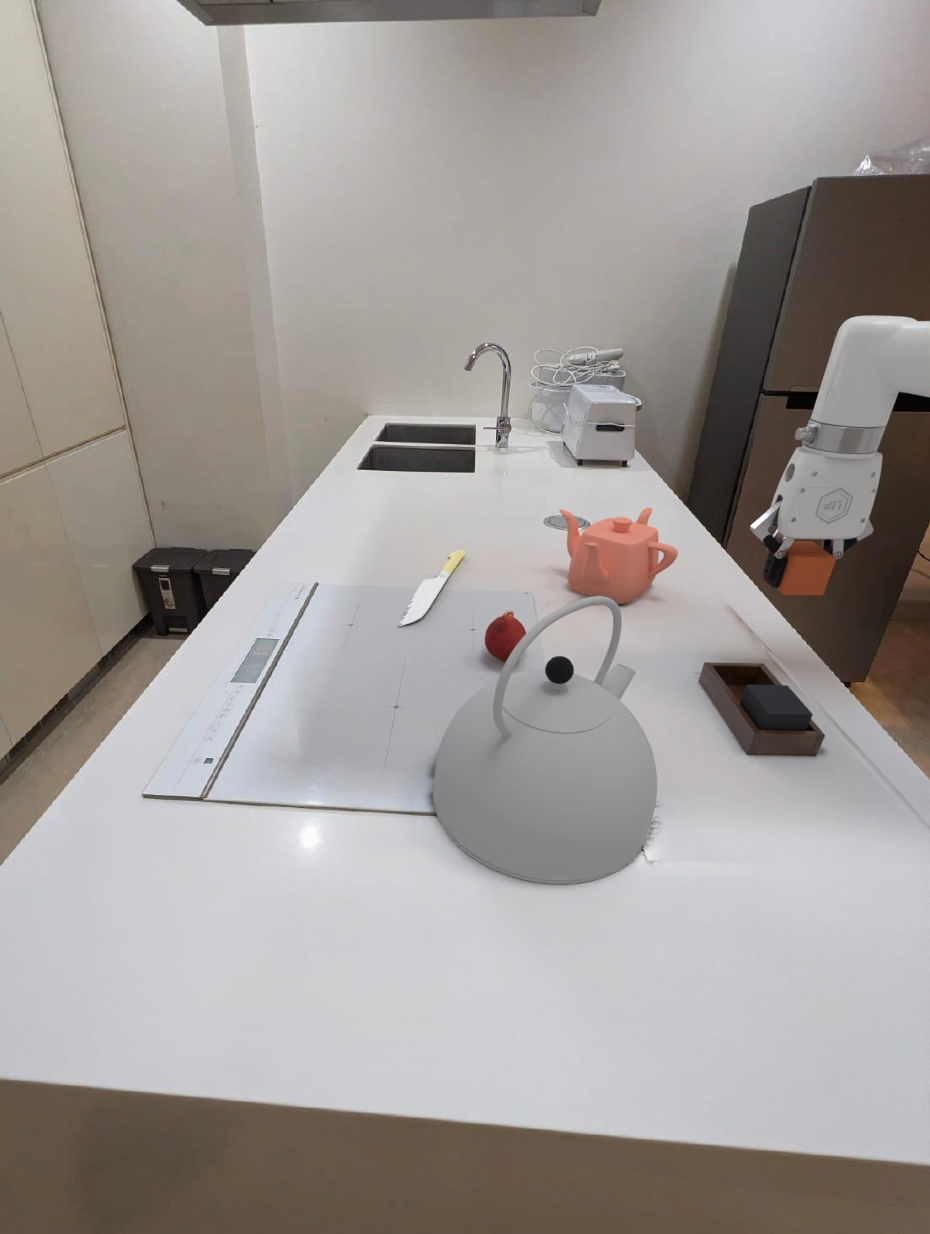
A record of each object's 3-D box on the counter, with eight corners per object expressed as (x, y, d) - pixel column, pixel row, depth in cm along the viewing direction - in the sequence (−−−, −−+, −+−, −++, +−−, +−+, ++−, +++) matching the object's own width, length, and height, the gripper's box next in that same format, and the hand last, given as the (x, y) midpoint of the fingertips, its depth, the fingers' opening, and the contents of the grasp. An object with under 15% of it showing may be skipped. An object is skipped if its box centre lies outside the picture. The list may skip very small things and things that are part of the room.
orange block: (799, 576, 85) (812, 541, 82) (823, 595, 80) (836, 558, 77) (762, 576, 85) (773, 540, 83) (783, 595, 80) (795, 557, 77)
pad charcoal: (774, 718, 79) (787, 685, 76) (798, 749, 74) (813, 714, 71) (734, 717, 79) (746, 684, 76) (755, 748, 73) (768, 713, 71)
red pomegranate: (503, 676, 87) (508, 625, 83) (474, 659, 91) (478, 609, 86) (532, 663, 90) (538, 612, 86) (503, 647, 94) (507, 598, 89)
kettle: (539, 702, 82) (563, 535, 70) (704, 795, 67) (769, 605, 55) (389, 788, 68) (386, 596, 55) (557, 929, 53) (602, 712, 41)
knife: (390, 623, 98) (418, 622, 97) (442, 549, 125) (466, 547, 123) (391, 630, 99) (420, 630, 97) (443, 555, 126) (467, 554, 124)
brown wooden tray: (755, 685, 86) (763, 663, 84) (814, 759, 73) (825, 735, 71) (697, 684, 86) (704, 661, 84) (745, 758, 73) (754, 733, 71)
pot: (549, 567, 120) (557, 502, 113) (638, 565, 121) (652, 501, 114) (575, 611, 104) (586, 538, 98) (677, 609, 105) (695, 537, 99)
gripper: (782, 445, 70) (738, 595, 79) (938, 446, 70) (875, 596, 79) (753, 431, 76) (716, 572, 86) (896, 432, 76) (842, 573, 86)
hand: (793, 582), depth 82 cm, fingers closed on orange block, 5 cm apart
